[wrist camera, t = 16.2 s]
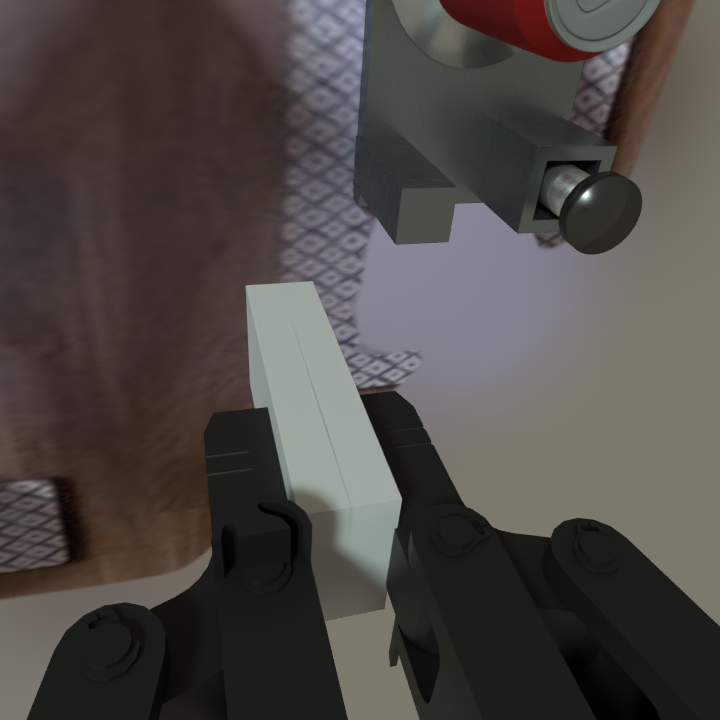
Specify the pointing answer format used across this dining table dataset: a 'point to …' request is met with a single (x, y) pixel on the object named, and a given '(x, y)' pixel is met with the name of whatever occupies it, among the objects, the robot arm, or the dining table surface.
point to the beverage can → (555, 23)
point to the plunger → (590, 205)
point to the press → (460, 124)
